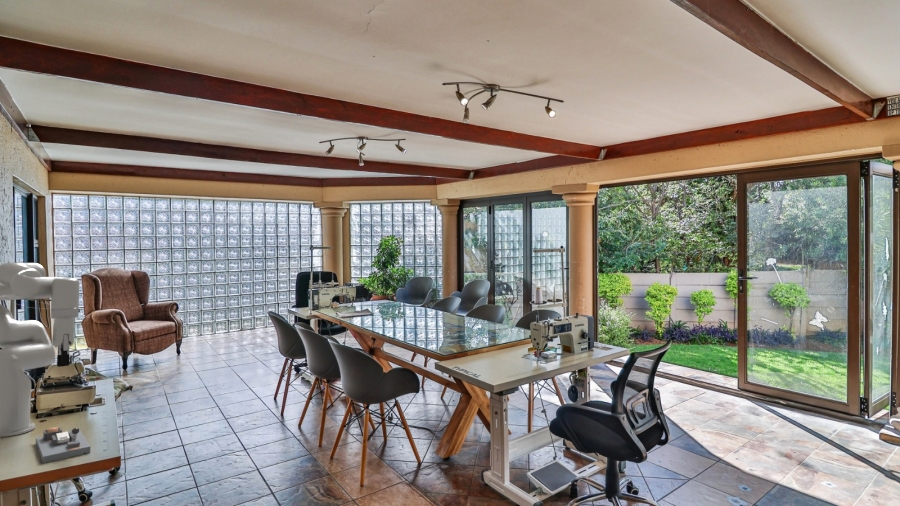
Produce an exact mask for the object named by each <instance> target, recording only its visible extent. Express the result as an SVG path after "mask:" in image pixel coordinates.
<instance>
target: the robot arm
mask: <svg viewBox="0 0 900 506" xmlns="http://www.w3.org/2000/svg"><path fill="white" fill-rule="evenodd" d="M46 273H47V272H46V269H45V267H43V265H41V264H40V263H37V262H6V263H2V264H0V301H13V300H23V299H26V300H38V299H40V300H41V299H42V300H43V299H50V301H51V302H50V319H53V325H52V340H51V338H50V336H49V333H48V332H47V330H46V327H45V326H44V324H43V323H42V322H40V321H38V320H34V319H29V320H27V319H25V320H17V319H15V318H14V315H13V313H12V311H11V310H10V309H9V308H8V307H6V306H5V305H3V304H1V303H0V348H1V349H0V438H6V437H15V436H18V435H22V434H25V433H28V432H31V431H32V430H34V429H35V428H36V423H34V422H31V400H32V399H31V398H32V381H31V378H30V377H29V376H28V375H27V374H26V373H25V371H28V370H33V369H38V368H43V367H48V366H50V365H52V364H53V363H54V362H55V359H56V366H57V367H68V366H70V359H71V358H70V357H71V355H70V347H72V346H73V345H74V338H75V318H79V310H80V309H79V307H80V280H79V279H78V278H74V277H73V278H72V277H66V276H47V275H46ZM55 348H57V354H56V350H55Z"/></svg>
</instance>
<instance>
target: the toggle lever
mask: <svg viewBox="0 0 900 506" xmlns="http://www.w3.org/2000/svg"><path fill="white" fill-rule="evenodd" d="M79 429H80V428H78V427H74V428H73V429H72V430H71V431H72V433H73V435H72V440H71V441H72V442H75V441H76V438H77V433H78V432H79Z"/></svg>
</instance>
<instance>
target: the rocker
mask: <svg viewBox="0 0 900 506" xmlns="http://www.w3.org/2000/svg"><path fill="white" fill-rule="evenodd" d="M68 431H69V430H68ZM68 431H62V433H57V434H56V438H57V442H58V443H63V442H68V441H69V439H70V438H69V434H68Z"/></svg>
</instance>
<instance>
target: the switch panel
mask: <svg viewBox="0 0 900 506" xmlns="http://www.w3.org/2000/svg"><path fill="white" fill-rule="evenodd" d="M62 432H63V429H62V427H58V431H55V432H50V433H47V429H44V430H43V432H42V433H43V436H38V437H37V436H36V437H35V445H36V449H37V450H38V453H39V456H40V459H41V462H42V463H43V464H45V463H50V462H54V461H58V460H62V459H67V458H71V456H72V457H75V456H80V454H81V455H85V454H89V452H90V453H91V445H90V443H89V441H88V440H87V438H86V437H85V435H84V433H83V432H82V431H81V429H80V428H79V432H78V433H77V438H76V441H75V442H72V441H71V440H72V435H73V433H72V430H68V434H69V438H70V439H69V441H68V442H63V443H58V442H57V438H56V434H57V433H62ZM84 453H85V454H84Z"/></svg>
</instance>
